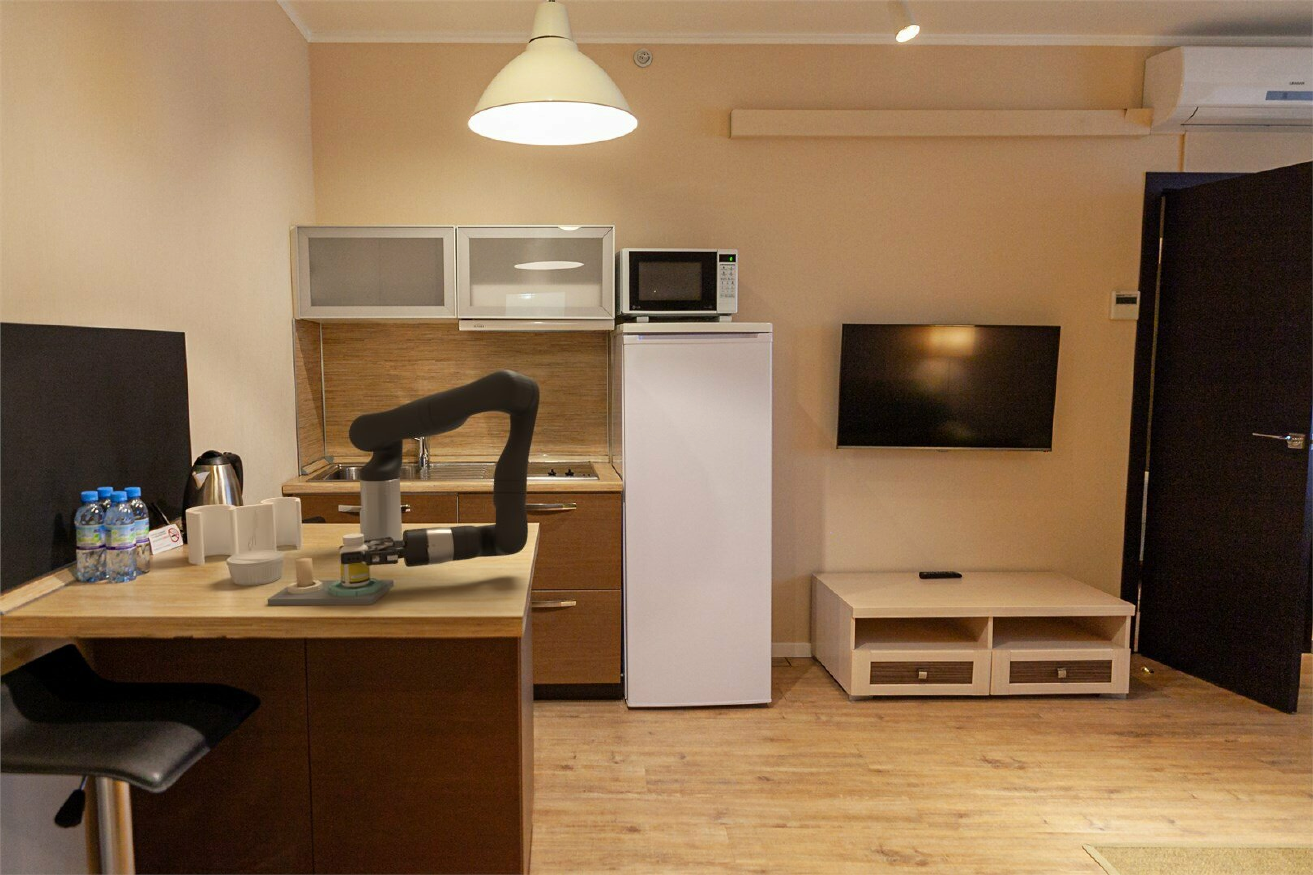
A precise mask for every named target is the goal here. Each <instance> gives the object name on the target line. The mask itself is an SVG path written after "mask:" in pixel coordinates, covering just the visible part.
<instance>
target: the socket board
mask: <svg viewBox="0 0 1313 875" xmlns="http://www.w3.org/2000/svg"><path fill="white" fill-rule="evenodd" d="M313 572H314V571H313V558H312V557H311V558H310V557H302V558H297V559H296V560H295V573H296V574H295V575H296V580H295V581H294V582H292V583H290V584H288V585H287V586H285V587H284V588H283V589H280V591H278V592H277V593H275V594H273V595H272V596H271V597H269V598H267V605H268V606H372V605H373V606H374V604H375V603H376V602H377V601H379V600H380V599H381V598H382V597H383V596H384V595H385V594H386V593H388V592H389V591H390V589H392V588H393V587H394V586H395V585H394V583H395V582H394V579H393V580H392V579H377V578H374V577H370V582H369V583H368V584H366V585H363V586H359V587H345V586H343V585H342V583H341V579H338V580H337V579H333V580H330V579H329V580H327V579H321V580H319V579H318V580H317V579H314V576H313V575H314V574H313ZM283 604H284V605H283Z"/></svg>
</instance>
